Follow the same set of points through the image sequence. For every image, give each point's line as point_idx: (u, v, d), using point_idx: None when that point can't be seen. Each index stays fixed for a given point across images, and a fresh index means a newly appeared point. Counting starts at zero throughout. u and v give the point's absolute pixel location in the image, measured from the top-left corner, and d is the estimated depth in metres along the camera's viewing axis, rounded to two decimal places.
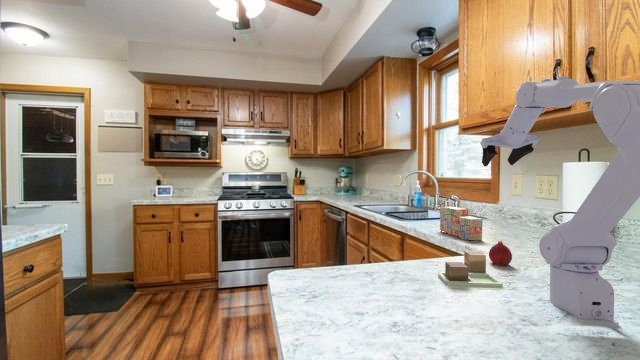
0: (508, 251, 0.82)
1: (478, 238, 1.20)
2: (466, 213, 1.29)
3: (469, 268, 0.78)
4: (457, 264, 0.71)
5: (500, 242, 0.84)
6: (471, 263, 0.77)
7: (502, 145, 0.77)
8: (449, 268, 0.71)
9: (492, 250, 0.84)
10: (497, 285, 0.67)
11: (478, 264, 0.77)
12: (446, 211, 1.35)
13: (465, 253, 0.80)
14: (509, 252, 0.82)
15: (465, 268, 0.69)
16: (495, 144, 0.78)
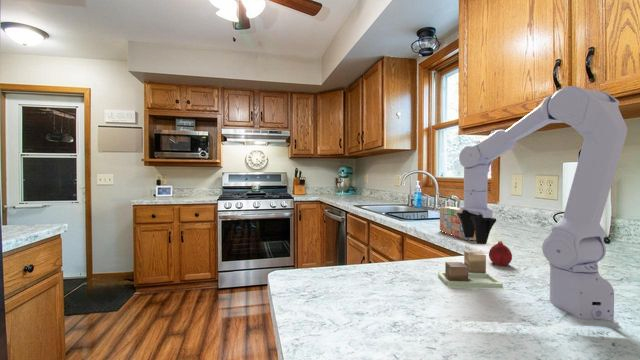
0: (508, 251, 0.82)
1: None
2: None
3: (469, 268, 0.78)
4: (457, 264, 0.71)
5: (500, 242, 0.84)
6: (471, 263, 0.77)
7: (488, 209, 0.75)
8: (449, 268, 0.71)
9: (492, 250, 0.84)
10: (497, 285, 0.67)
11: (478, 264, 0.77)
12: (446, 211, 1.34)
13: (465, 253, 0.80)
14: (509, 252, 0.82)
15: (465, 268, 0.69)
16: (489, 210, 0.74)
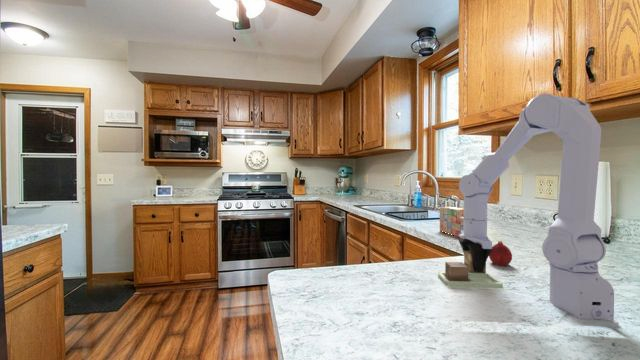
0: (508, 251, 0.82)
1: None
2: None
3: (469, 268, 0.78)
4: (457, 264, 0.71)
5: (500, 242, 0.84)
6: (471, 263, 0.77)
7: (488, 238, 0.76)
8: (449, 268, 0.71)
9: None
10: (497, 285, 0.67)
11: None
12: (446, 211, 1.34)
13: (465, 253, 0.80)
14: (509, 252, 0.82)
15: (465, 268, 0.69)
16: None
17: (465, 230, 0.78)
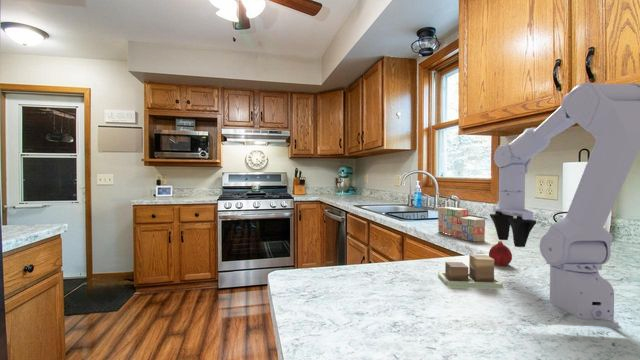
0: (508, 251, 0.82)
1: (481, 238, 1.19)
2: (466, 213, 1.28)
3: (475, 274, 0.69)
4: (457, 264, 0.71)
5: (500, 242, 0.84)
6: (477, 268, 0.69)
7: None
8: (449, 268, 0.71)
9: (492, 250, 0.84)
10: (497, 285, 0.67)
11: (485, 269, 0.69)
12: (445, 211, 1.33)
13: (470, 257, 0.72)
14: (509, 252, 0.82)
15: (465, 268, 0.69)
16: None
17: (501, 203, 0.75)
